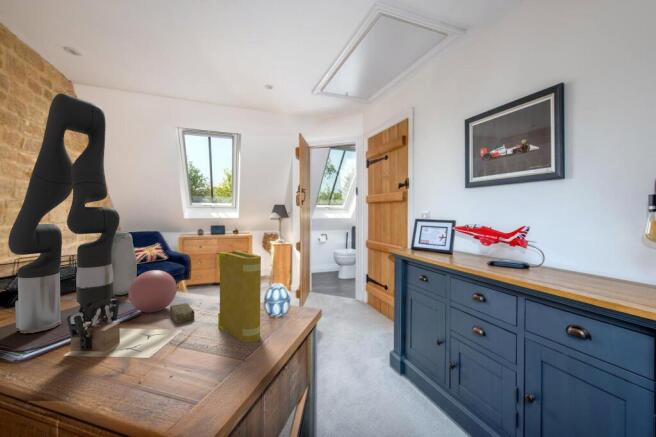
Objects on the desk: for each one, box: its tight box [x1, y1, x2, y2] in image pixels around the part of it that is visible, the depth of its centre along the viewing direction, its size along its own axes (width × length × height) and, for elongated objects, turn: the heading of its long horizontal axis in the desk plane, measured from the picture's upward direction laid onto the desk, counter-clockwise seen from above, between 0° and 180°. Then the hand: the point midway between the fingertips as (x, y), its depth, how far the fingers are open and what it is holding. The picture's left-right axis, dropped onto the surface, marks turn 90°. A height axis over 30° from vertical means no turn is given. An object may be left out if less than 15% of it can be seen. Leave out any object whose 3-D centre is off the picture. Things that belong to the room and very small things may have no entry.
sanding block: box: [70, 321, 121, 353], centre depth 75 cm, size 9×5×6 cm, turn 89°
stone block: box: [169, 303, 195, 325], centre depth 97 cm, size 6×12×5 cm, turn 40°
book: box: [217, 249, 262, 343], centre depth 89 cm, size 17×7×25 cm, turn 47°
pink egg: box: [127, 269, 178, 313], centre depth 107 cm, size 15×20×15 cm
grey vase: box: [112, 230, 138, 296], centre depth 124 cm, size 10×10×28 cm
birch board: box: [63, 328, 184, 359], centre depth 79 cm, size 22×16×2 cm
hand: (96, 344), depth 75 cm, fingers open, 5 cm apart
